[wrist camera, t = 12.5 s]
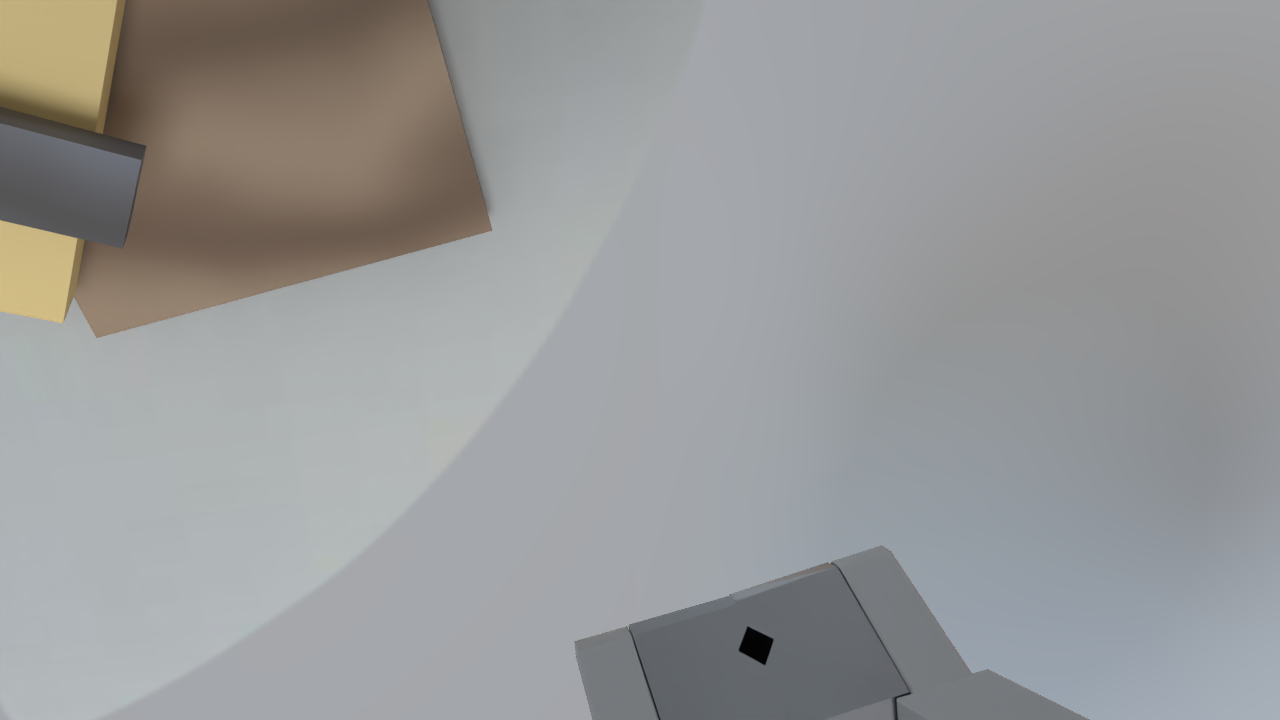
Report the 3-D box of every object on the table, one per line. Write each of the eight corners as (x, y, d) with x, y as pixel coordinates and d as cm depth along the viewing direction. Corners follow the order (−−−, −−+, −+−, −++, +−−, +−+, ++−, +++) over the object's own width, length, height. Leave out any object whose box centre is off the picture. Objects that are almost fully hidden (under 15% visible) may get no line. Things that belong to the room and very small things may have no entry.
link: (32, -304, 30) (12, -302, 28) (186, -244, 32) (178, -239, 30) (-37, 267, 38) (-57, 300, 36) (91, 293, 39) (79, 326, 37)
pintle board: (-273, -272, 30) (-406, -259, 25) (316, -393, 32) (315, -407, 27) (64, 328, 42) (24, 431, 36) (487, 214, 43) (512, 295, 38)
